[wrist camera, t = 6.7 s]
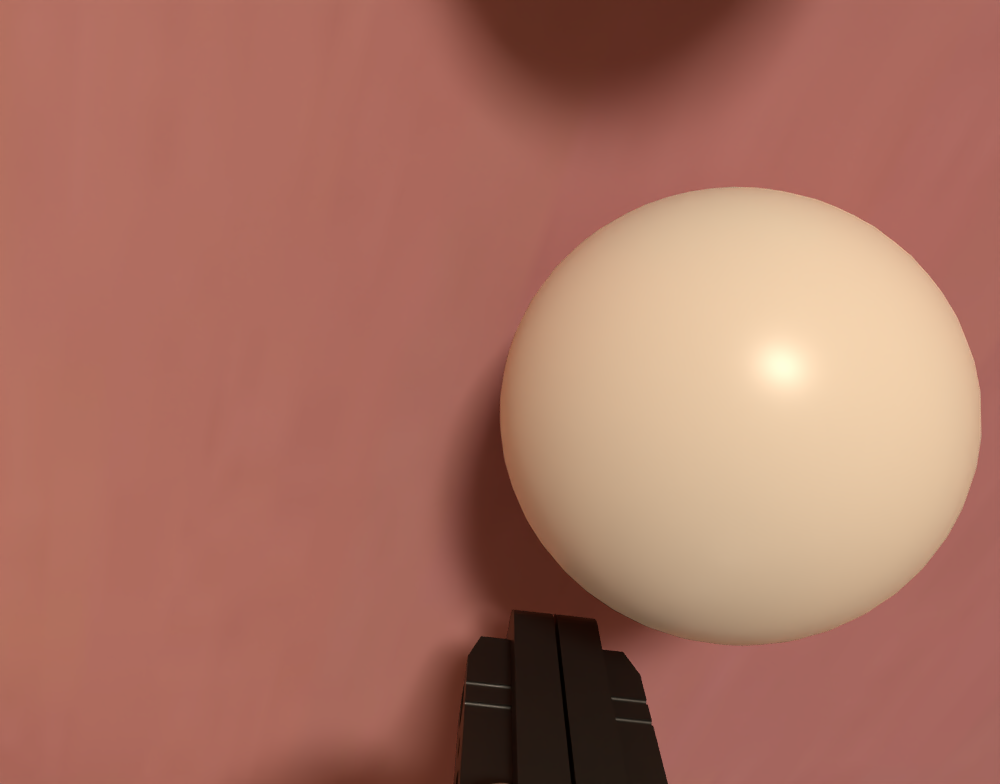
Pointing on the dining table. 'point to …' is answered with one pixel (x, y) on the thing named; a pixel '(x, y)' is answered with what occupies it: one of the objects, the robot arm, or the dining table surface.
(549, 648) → the robot arm
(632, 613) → the cue ball
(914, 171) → the dining table surface
